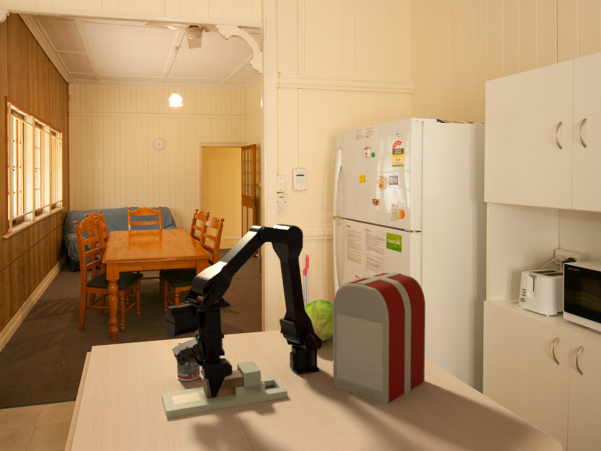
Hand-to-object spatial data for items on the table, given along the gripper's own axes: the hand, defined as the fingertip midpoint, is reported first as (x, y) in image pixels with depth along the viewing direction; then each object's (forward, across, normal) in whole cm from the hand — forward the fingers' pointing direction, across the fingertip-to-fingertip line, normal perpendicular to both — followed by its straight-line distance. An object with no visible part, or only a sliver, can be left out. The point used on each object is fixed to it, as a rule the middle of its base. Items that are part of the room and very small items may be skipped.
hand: (211, 392), depth 125 cm
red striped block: (+2, +6, +41) cm, 41 cm away
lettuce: (+2, -30, +39) cm, 50 cm away
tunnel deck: (+2, 0, +3) cm, 3 cm away
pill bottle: (+2, -16, -3) cm, 16 cm away
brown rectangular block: (0, 0, +4) cm, 5 cm away
